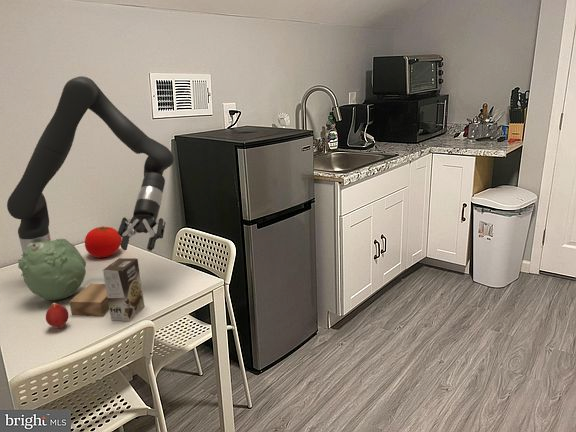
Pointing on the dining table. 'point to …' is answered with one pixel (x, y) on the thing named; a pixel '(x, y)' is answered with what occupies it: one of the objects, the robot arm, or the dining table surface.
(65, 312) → the onion
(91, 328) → the dining table surface
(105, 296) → the walnut box
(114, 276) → the coffee box
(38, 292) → the cabbage
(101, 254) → the tomato
